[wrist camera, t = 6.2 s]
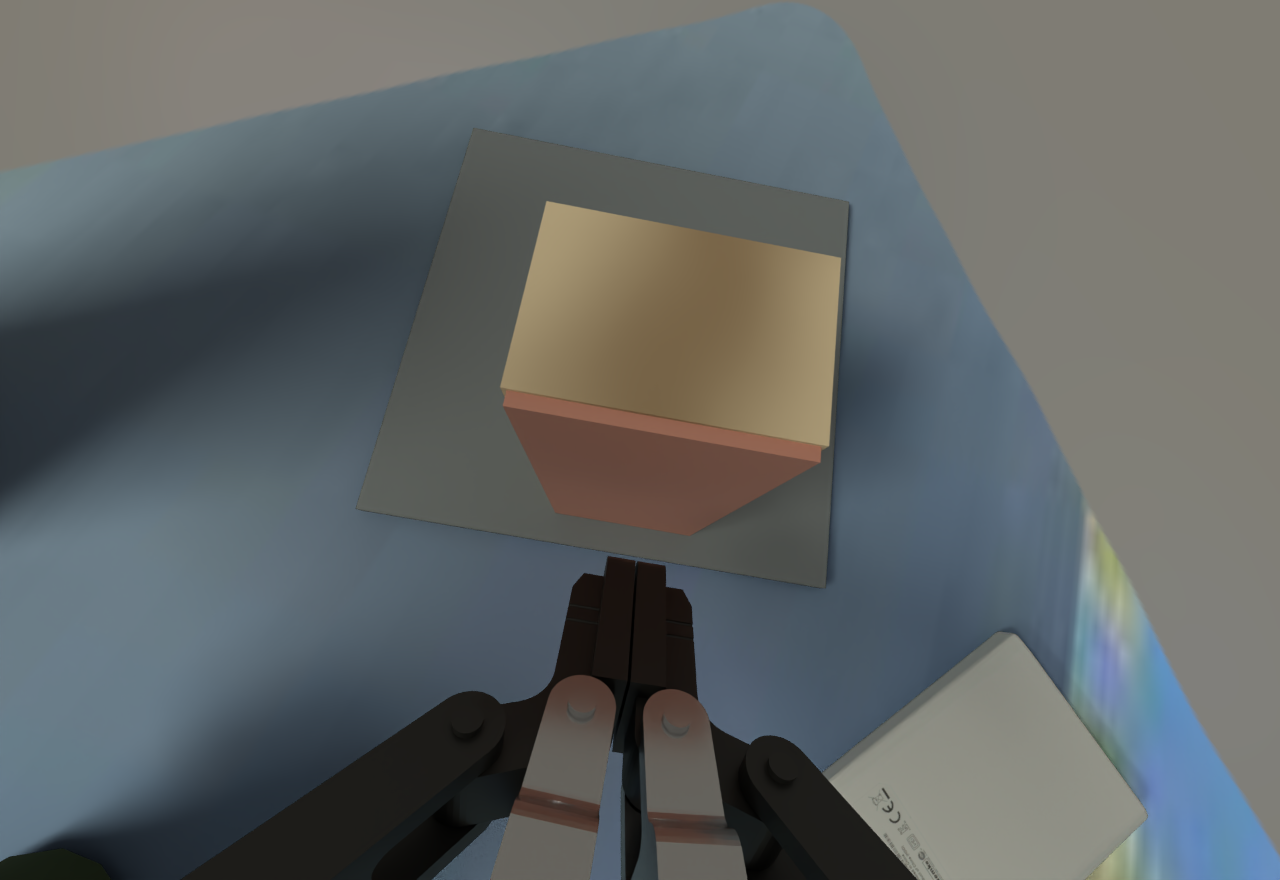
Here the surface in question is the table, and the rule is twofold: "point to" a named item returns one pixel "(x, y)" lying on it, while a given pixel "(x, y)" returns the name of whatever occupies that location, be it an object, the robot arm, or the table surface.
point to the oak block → (668, 368)
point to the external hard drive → (990, 777)
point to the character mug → (51, 867)
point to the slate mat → (481, 337)
